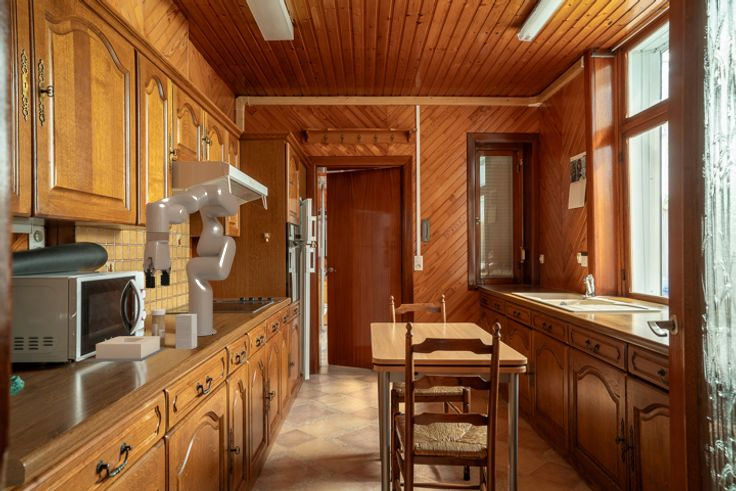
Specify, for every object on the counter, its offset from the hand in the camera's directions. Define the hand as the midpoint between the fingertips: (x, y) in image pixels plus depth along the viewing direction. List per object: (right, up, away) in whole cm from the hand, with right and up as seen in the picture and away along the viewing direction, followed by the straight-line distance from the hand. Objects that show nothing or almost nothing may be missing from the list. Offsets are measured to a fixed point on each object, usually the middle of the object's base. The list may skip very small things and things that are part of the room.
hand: (158, 286), depth 167 cm
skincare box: (+10, -22, 0) cm, 24 cm away
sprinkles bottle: (-1, -22, +3) cm, 22 cm away
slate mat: (-5, -21, -11) cm, 25 cm away
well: (-5, -21, -10) cm, 24 cm away
